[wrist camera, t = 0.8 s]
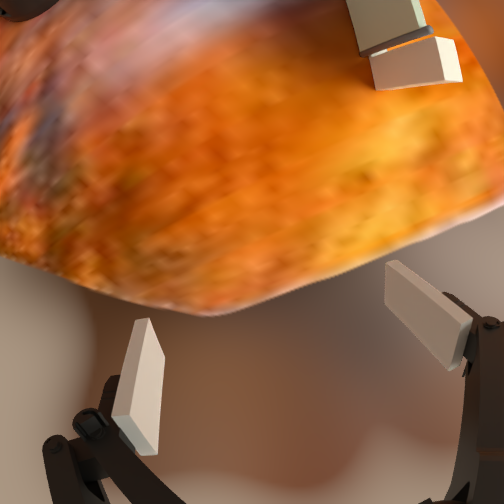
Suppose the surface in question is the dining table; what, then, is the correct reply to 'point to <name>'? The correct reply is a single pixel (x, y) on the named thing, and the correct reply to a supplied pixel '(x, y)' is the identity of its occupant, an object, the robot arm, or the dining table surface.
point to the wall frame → (416, 65)
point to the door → (386, 23)
